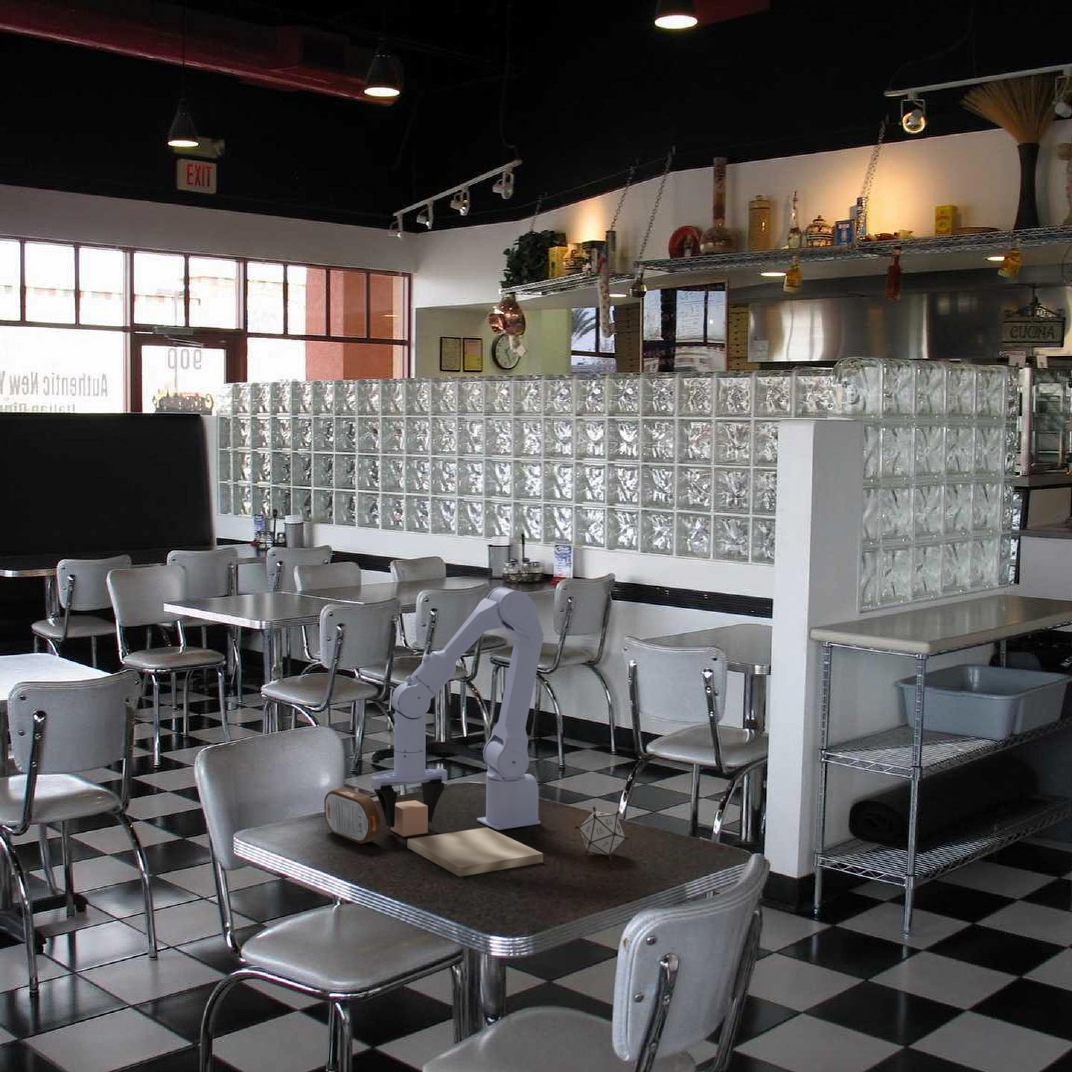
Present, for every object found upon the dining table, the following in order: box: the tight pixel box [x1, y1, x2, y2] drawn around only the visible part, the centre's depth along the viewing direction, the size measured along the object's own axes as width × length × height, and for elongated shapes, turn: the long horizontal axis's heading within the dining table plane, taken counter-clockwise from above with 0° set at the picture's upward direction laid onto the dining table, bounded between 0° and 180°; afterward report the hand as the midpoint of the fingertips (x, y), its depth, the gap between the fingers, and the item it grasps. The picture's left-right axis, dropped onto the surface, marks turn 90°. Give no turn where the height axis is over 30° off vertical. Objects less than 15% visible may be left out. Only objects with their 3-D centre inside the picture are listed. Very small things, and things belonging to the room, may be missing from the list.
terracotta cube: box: [390, 799, 429, 837], centre depth 239 cm, size 5×5×5 cm
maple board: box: [407, 826, 544, 878], centre depth 225 cm, size 16×19×2 cm
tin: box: [323, 786, 382, 845], centre depth 234 cm, size 15×3×8 cm, turn 42°
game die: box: [573, 805, 631, 861], centre depth 225 cm, size 9×8×10 cm
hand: (409, 823), depth 239 cm, fingers open, 7 cm apart
